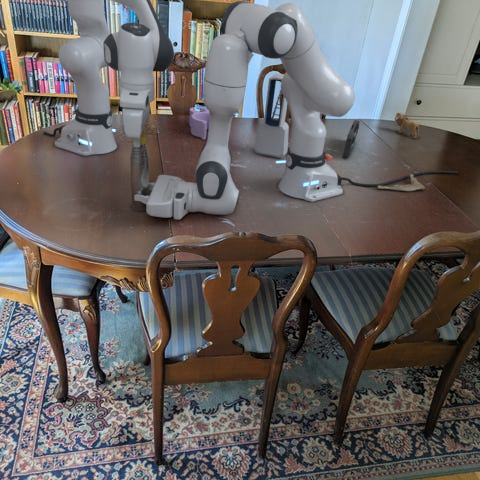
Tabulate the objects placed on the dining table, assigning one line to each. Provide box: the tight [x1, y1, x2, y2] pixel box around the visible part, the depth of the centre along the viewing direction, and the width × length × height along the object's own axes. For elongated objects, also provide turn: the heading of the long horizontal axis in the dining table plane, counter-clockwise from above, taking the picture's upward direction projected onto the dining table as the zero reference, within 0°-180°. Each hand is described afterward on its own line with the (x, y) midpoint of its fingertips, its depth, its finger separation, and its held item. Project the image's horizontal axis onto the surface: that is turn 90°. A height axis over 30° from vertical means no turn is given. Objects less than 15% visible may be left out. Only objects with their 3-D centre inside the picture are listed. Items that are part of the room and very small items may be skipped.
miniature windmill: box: [271, 64, 290, 126], centre depth 207 cm, size 9×8×30 cm
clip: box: [188, 106, 210, 140], centre depth 199 cm, size 20×12×7 cm, turn 23°
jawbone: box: [376, 173, 426, 193], centre depth 169 cm, size 9×20×2 cm, turn 126°
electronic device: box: [252, 73, 290, 160], centre depth 177 cm, size 12×8×30 cm, turn 71°
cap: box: [129, 131, 148, 145], centre depth 129 cm, size 5×5×2 cm
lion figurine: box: [394, 112, 422, 139], centre depth 219 cm, size 15×5×9 cm, turn 50°
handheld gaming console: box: [342, 119, 361, 159], centre depth 194 cm, size 23×3×10 cm, turn 161°
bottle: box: [129, 144, 150, 212], centre depth 135 cm, size 5×5×22 cm
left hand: (138, 142), depth 130 cm, fingers closed on cap, 4 cm apart
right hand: (137, 191), depth 138 cm, fingers closed on bottle, 5 cm apart
